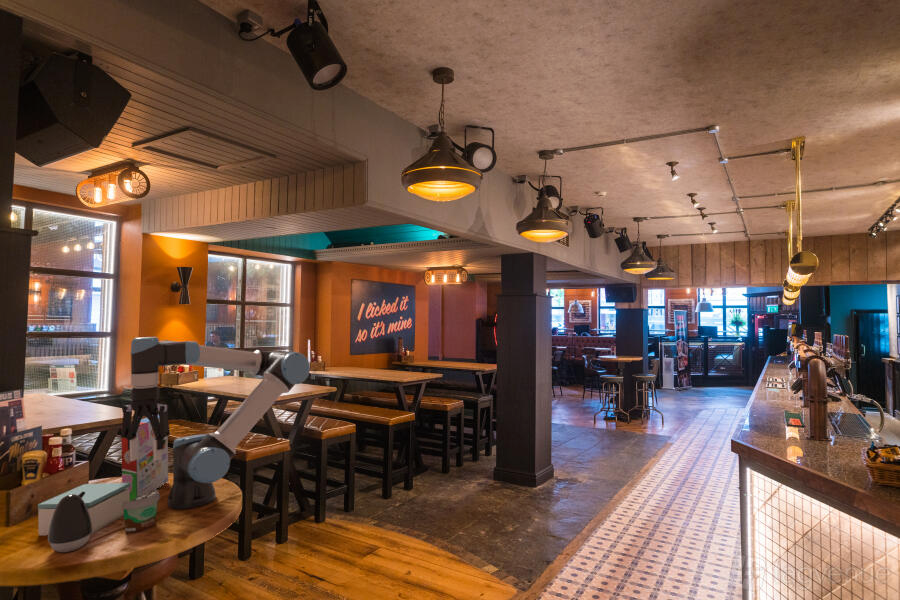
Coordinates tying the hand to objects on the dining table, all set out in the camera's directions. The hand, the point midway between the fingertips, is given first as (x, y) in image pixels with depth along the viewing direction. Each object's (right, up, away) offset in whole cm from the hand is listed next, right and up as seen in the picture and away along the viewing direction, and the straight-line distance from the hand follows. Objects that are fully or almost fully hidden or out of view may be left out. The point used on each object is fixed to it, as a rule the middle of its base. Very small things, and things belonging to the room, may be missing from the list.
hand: (145, 459), depth 160 cm
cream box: (-21, -22, +4) cm, 31 cm away
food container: (0, -21, 0) cm, 21 cm away
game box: (-19, -22, +32) cm, 43 cm away
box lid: (-21, -13, +4) cm, 25 cm away
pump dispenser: (-13, -21, -14) cm, 29 cm away
